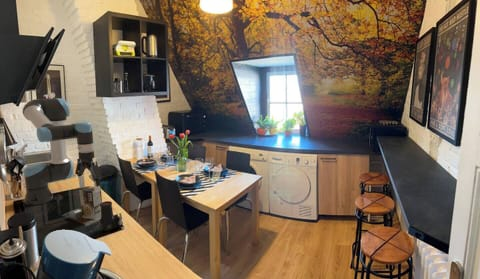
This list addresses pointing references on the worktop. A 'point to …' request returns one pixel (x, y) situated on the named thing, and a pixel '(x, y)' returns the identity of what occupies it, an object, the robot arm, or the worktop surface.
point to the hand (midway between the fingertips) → (89, 189)
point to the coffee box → (90, 202)
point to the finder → (75, 214)
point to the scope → (109, 216)
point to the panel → (83, 219)
